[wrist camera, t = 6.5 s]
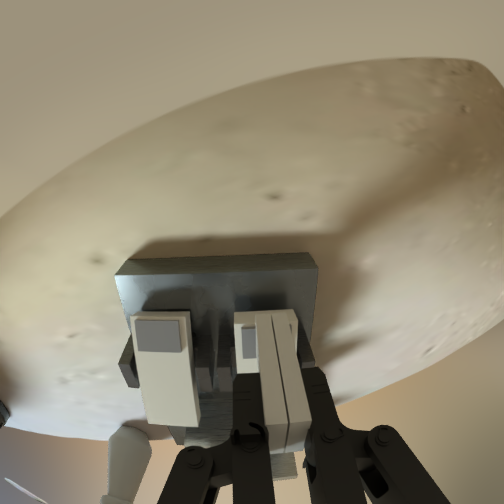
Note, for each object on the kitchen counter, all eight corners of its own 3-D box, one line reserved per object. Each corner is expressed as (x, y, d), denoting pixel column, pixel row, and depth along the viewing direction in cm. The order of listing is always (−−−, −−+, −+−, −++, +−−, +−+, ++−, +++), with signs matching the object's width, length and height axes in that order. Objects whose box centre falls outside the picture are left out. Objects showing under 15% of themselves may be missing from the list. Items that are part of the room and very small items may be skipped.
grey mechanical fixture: (179, 428, 27) (172, 480, 21) (126, 259, 19) (82, 320, 12) (289, 425, 28) (298, 478, 21) (308, 252, 19) (345, 314, 13)
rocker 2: (240, 405, 19) (240, 423, 17) (233, 311, 17) (233, 326, 15) (288, 402, 19) (292, 419, 17) (292, 309, 17) (299, 322, 15)
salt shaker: (130, 444, 30) (115, 518, 18) (104, 423, 27) (81, 503, 16) (162, 442, 29) (152, 525, 17) (137, 421, 27) (118, 512, 15)
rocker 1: (153, 412, 17) (147, 425, 15) (138, 311, 17) (128, 316, 16) (200, 415, 18) (197, 429, 16) (189, 311, 18) (184, 317, 16)
